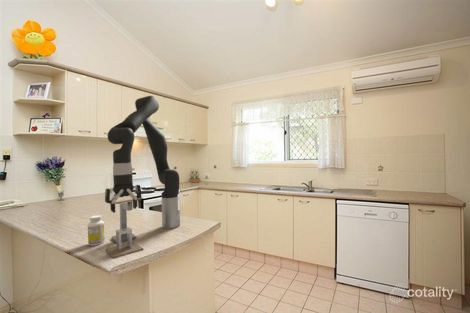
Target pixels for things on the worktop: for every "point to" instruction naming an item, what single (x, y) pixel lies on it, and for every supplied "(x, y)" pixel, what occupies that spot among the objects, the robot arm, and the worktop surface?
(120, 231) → the hook
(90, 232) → the supplement bottle
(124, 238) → the stand
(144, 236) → the worktop surface
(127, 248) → the cork mat
